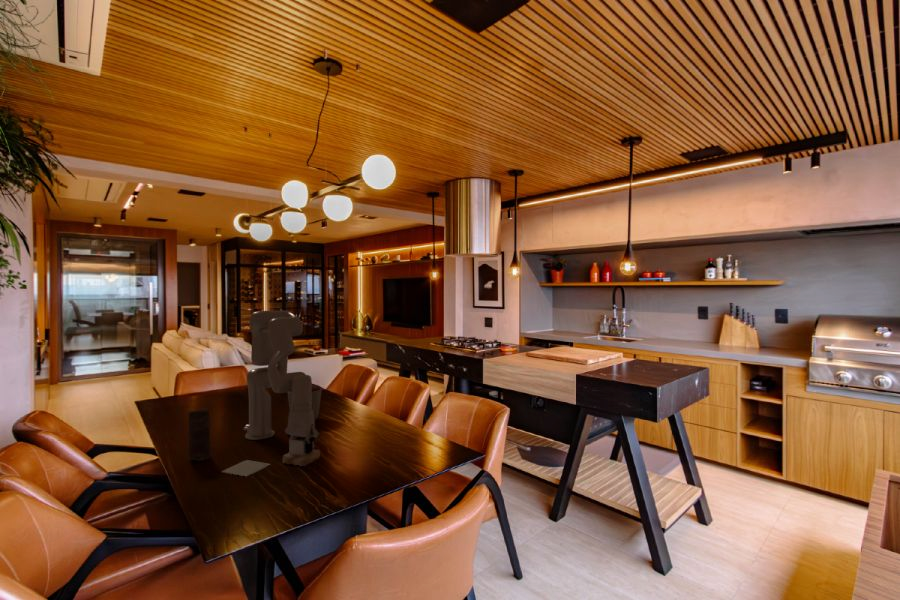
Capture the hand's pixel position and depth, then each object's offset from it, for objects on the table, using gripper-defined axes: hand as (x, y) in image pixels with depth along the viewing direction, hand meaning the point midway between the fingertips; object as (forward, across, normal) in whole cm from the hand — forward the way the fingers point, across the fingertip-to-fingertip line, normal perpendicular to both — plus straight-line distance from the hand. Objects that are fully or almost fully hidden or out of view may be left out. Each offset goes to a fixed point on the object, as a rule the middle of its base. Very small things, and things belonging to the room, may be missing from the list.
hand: (301, 451), depth 171 cm
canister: (+4, -35, +46) cm, 58 cm away
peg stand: (+4, 0, 0) cm, 4 cm away
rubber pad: (+4, -14, -14) cm, 20 cm away
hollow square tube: (+1, 0, 0) cm, 1 cm away
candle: (+4, -39, -13) cm, 41 cm away
